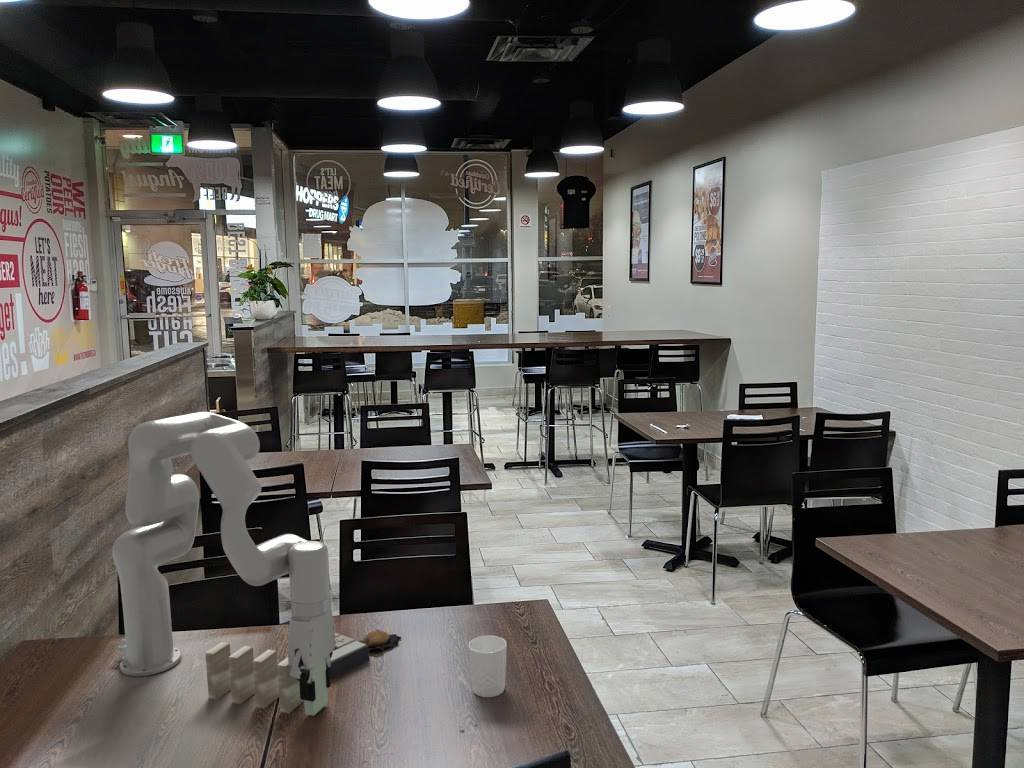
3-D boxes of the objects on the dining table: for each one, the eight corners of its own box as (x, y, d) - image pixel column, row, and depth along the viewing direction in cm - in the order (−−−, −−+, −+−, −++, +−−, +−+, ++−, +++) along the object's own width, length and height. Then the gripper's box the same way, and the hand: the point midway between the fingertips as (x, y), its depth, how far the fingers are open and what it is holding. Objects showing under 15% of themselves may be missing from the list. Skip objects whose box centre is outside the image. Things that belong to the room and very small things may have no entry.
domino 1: (208, 698, 160) (205, 652, 159) (224, 686, 165) (221, 641, 164) (216, 700, 160) (213, 654, 158) (232, 687, 164) (229, 643, 163)
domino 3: (255, 707, 157) (252, 660, 155) (271, 695, 161) (268, 649, 160) (264, 709, 156) (261, 662, 155) (279, 696, 161) (276, 650, 159)
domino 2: (232, 703, 158) (228, 656, 157) (247, 690, 163) (244, 645, 162) (240, 704, 158) (237, 658, 156) (255, 692, 162) (252, 646, 161)
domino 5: (305, 714, 153) (302, 666, 151) (319, 701, 157) (317, 654, 156) (313, 715, 152) (311, 667, 151) (327, 702, 157) (325, 655, 155)
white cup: (513, 684, 164) (512, 639, 163) (497, 702, 157) (496, 655, 155) (480, 676, 167) (479, 632, 166) (462, 694, 160) (461, 648, 159)
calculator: (328, 627, 185) (369, 642, 175) (330, 645, 185) (370, 660, 176) (288, 644, 177) (329, 660, 167) (290, 662, 177) (330, 680, 167)
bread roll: (379, 661, 176) (379, 645, 176) (349, 653, 180) (349, 638, 180) (406, 641, 186) (405, 626, 185) (377, 634, 190) (377, 619, 189)
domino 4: (280, 712, 155) (277, 664, 153) (294, 699, 159) (292, 653, 158) (288, 713, 154) (286, 666, 153) (303, 701, 159) (300, 654, 157)
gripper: (318, 587, 161) (322, 670, 163) (268, 620, 145) (273, 712, 148) (350, 591, 159) (354, 675, 161) (302, 626, 143) (307, 718, 145)
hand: (315, 692), depth 154 cm, fingers closed on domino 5, 4 cm apart
